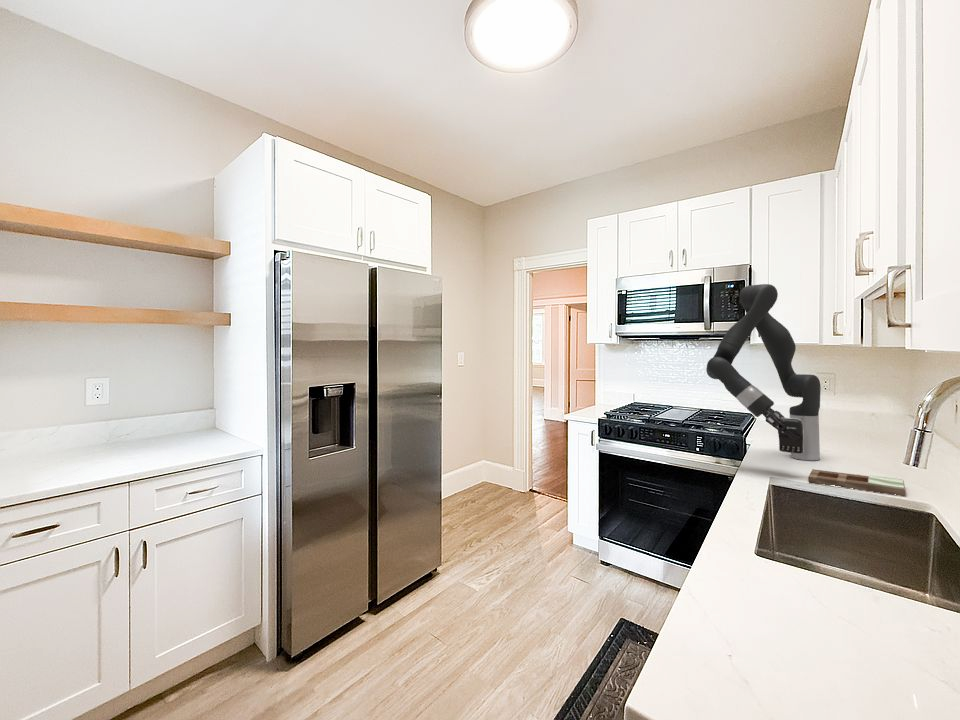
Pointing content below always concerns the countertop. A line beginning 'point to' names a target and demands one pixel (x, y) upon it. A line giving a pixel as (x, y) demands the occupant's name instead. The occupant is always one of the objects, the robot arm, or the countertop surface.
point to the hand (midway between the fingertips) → (797, 438)
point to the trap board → (858, 482)
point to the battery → (789, 444)
